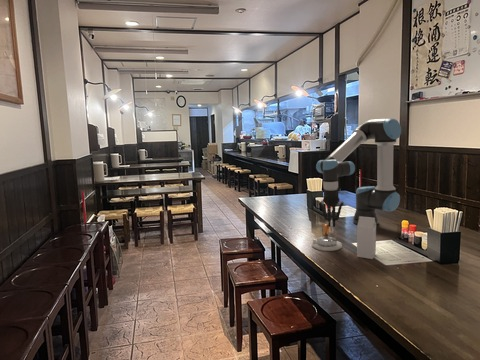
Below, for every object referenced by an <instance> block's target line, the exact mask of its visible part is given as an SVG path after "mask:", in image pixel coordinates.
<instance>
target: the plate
mask: <svg viewBox="0 0 480 360" xmlns="http://www.w3.org/2000/svg"><path fill="white" fill-rule="evenodd" d="M317 239H318V238H313V239H312V244H311V247H312V248H313V249H315V250H318V251H323V252H334V251H339V250H341V249H342V247H343V243H342V242H340V241H338V240H337V245H335V246H330V247H326V246H321V245H318V244H317Z"/></svg>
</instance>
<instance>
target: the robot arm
mask: <svg viewBox="0 0 480 360" xmlns="http://www.w3.org/2000/svg"><path fill="white" fill-rule="evenodd" d="M401 134H402V127H401V123H400V122H399V121H398V120H397V119H395V118H375V119H373V118H372V119H368V120H366V121H365V122H363V123H361V124H360V125H358V126H357V127H355V129H354V130H353V131H352V133H351V135H349V137H348V138H346V139H345V141H344V142H342V143H341V144H340V145H339V146H338V147H337V148H336V149H335V150H333V152H331V153H330V155H328V156H327V157H326V158H325V159H320V160H318V161H317V163H316V165H315V169H316V171H317V173H320V174H322V177H323V198H322V200H321V201H319V202H318V205H319V206H320V208H321V211H322V215H323V218H324V220H327V224H328V226H329V228H330V234H333V233H334V232H335V231H334V229H335V227H336V221H338V220H339V218H340V214H341V211H342V208H343V205H344V204H345V202H344V201H341V200H340V197H339V178H340V177H344V176H347V177H348V176H351V175H353V174H354V173H355V171H356V165H355V164H354V162H353V161H350V160H349V161H347V160H346V158H347V157H348V156H349V155H351V154H352V153H353V152H354V151H355V150H356V149H357V148H358V147H359V146H360V145H361V144H364V143H366V142H367V141H368V140H372V139H373V140H374V144H375V145H376V146H377V154H376V155H377V156H376V157H377V158H376V159H377V161H376V162H377V165H376V166H377V167H376V168H377V170H376V171H377V172H376V173H377V174H376V175H377V177H376V178H377V180H376V184H377V185H376V186H374V185H373V186H371V185H370V186H369V185H368V186H360V187H357V188H356V191H355V212H354V216H353V218H352V223H353V224H354V225H358V221H359V216H361V217H371V218H375V222H376V226H377V225H378V224H379V218H378V215H377V211H376V210H380V211H384V212H393V211H395V210H396V209H397V208H398V207H399V205H400V202H401V196H400V194H399V193H398V192H397V191H396V190H397V188H396V187H395V186H394V145H395V144H396V143H397V140H398V139H399V138H400V137H401ZM344 160H345V161H344ZM337 205H338V208H337V213H336V206H337ZM325 206H327V210H326V207H325Z"/></svg>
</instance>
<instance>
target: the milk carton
mask: <svg viewBox="0 0 480 360" xmlns="http://www.w3.org/2000/svg"><path fill="white" fill-rule="evenodd" d="M356 225H357V226H356V229H357V230H356V257H357V258H364V259H370V260H373V259H374V257H375V256H376V253H377V251H376V249H377V225H376V222H375V218H371V217H361V216H359V221H358V224H356Z"/></svg>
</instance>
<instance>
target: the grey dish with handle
mask: <svg viewBox="0 0 480 360" xmlns="http://www.w3.org/2000/svg"><path fill="white" fill-rule="evenodd" d="M322 227H323V229H322V232H323V233H322V235H323V236H319V237H317V238H316V239H317V244H318V245H321V246H326V247H330V246H335V245H337V241H338V239H337V238H335V237H332V236H329V232H330V231H329V228H330V227H329V226H328V223H323V225H322Z"/></svg>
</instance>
